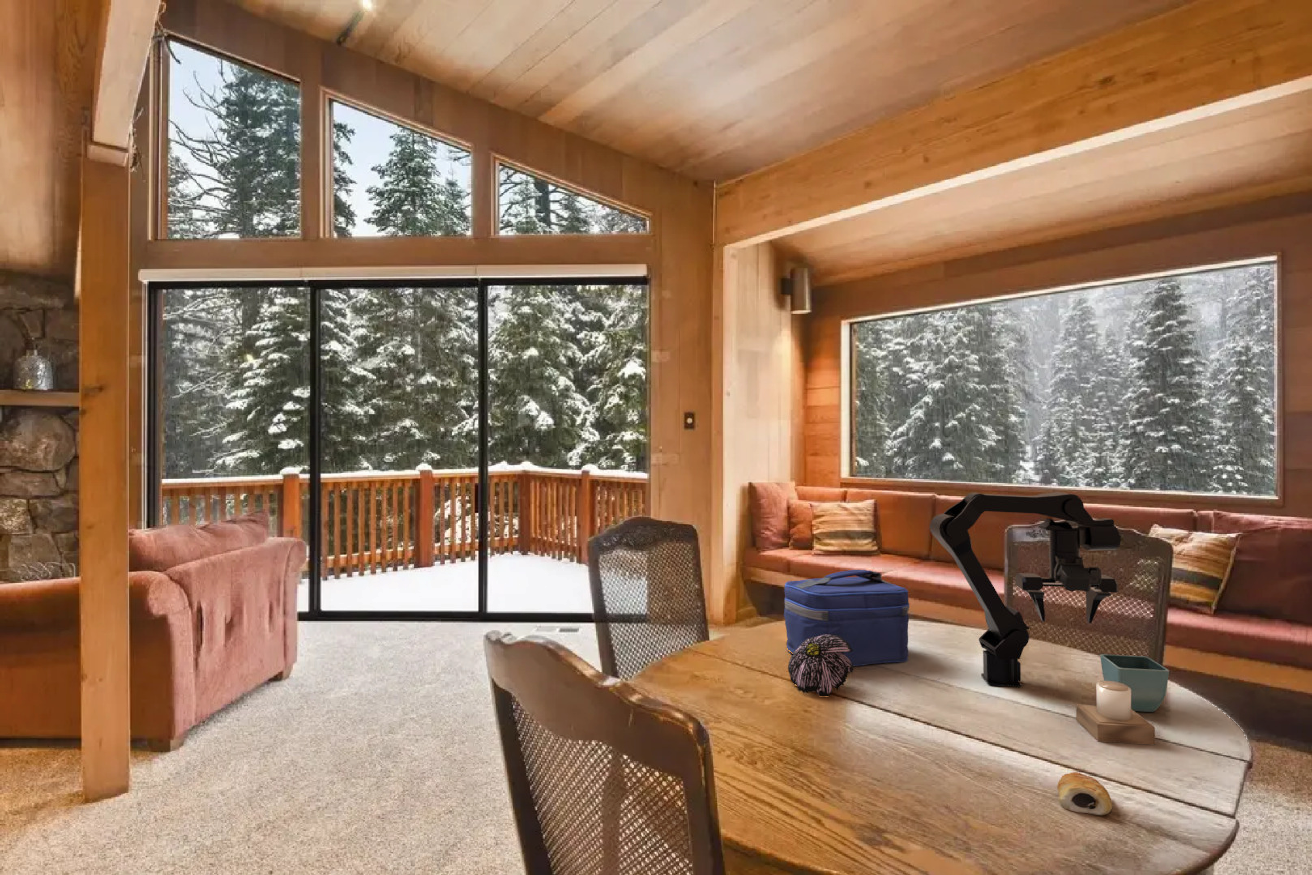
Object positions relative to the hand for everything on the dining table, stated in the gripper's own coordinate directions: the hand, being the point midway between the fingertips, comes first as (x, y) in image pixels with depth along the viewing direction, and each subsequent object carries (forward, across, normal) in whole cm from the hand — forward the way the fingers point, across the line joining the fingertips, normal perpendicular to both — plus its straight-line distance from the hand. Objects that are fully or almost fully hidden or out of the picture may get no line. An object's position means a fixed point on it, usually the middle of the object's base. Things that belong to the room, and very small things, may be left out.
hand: (1066, 622), depth 149 cm
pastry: (+14, -17, -53) cm, 57 cm away
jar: (+10, -2, -26) cm, 28 cm away
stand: (+13, -2, -26) cm, 29 cm away
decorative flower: (+13, -53, -10) cm, 56 cm away
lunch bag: (+13, -46, +13) cm, 49 cm away
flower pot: (+13, +7, -13) cm, 20 cm away
